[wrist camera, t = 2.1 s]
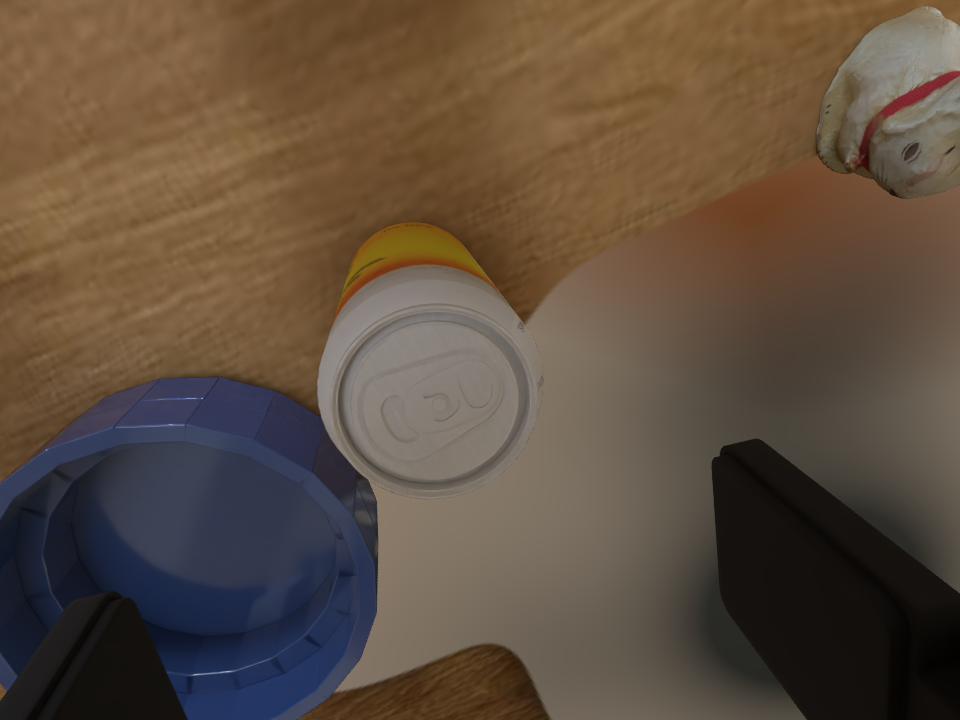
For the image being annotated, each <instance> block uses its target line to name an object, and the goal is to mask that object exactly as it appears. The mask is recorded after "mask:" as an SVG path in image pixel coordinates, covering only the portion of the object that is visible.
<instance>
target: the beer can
mask: <svg viewBox="0 0 960 720" xmlns="http://www.w3.org/2000/svg"><path fill="white" fill-rule="evenodd" d="M542 395H543V369H542V364H541V359H540V355H539V352H538V350H537V346H536V344H535V342H534V340H533V338H532V336H531V334H530V332H529V330H528V329H527V327H526V326H525V324H524V323H523V322H522V320H521V319H520V318H519V316H518V315H517V314H516V313H515V311H514V310H513V309H512V307H511V306H510V305H509V304H508V302H507V301H506V300H505V298H504V297H503V296H502V294H501V293H500V292H499V291H498V289H497V288H496V287H495V285H494V284H493V283H492V282H491V280H490V279H489V278H488V276H487V275H486V274H485V272H484V271H483V270H482V269H481V267H480V266H479V265H478V263H477V262H476V261H475V260H474V258H473V257H472V256H471V254H470V253H469V252H468V250H467V249H466V248H465V247H464V246H463V244H462V243H461V242H460V241H459V240H458V239H457V238H455V237H454V236H453V235H451V234H450V233H449V232H447V231H445V230H443V229H441V228H439V227H437V226H434V225H430V224H427V223H421V222H404V223H399V224H394V225H391V226H388V227H386V228H384V229H382V230H380V231H378V232H377V233H375V234H373V235H372V236H371V237H370V238H368V239H367V240H366V241H365V242H364V243H363V244H362V246H361V247H360V248H359V250H358V251H357V253H356V254H355V256H354V258H353V260H352V262H351V265H350V268H349V271H348V274H347V278H346V281H345V284H344V287H343V291H342V294H341V297H340V300H339V304H338V307H337V310H336V314H335V317H334V320H333V323H332V327H331V330H330V333H329V336H328V340H327V343H326V346H325V350H324V353H323V356H322V359H321V363H320V367H319V372H318V379H317V396H318V405H319V410H320V414H321V417H322V420H323V423H324V426H325V428H326V430H327V432H328V434H329V436H330V438H331V440H332V441H333V443H334V444H335V446H336V447H337V448H338V450H339V451H340V452H341V453H342V454H343V455H344V457H345V458H346V459H347V460H348V461H349V462H350V463H351V464H352V466H353V467H354V468H355V469H356V470H357V471H358V472H359V473H360V474H362V475H363V476H364V477H365V478H367V479H368V480H370V481H371V482H372V483H374V484H376V485H377V486H379V487H381V488H383V489H385V490H388V491H390V492H392V493H395V494H399V495H402V496H406V497H412V498H419V499H440V498H449V497H454V496H458V495H462V494H465V493H468V492H471V491H473V490H476V489H478V488H480V487H482V486H484V485H486V484H487V483H489V482H491V481H492V480H494V479H495V478H496V477H498V476H499V475H501V473H503V472H504V471H505V470H506V469H507V468H508V467H509V466H510V465H511V464H512V463H513V462H514V461H515V460H516V459H517V457H518V456H519V454H520V453H521V452H522V450H523V449H524V447H525V445H526V443H527V442H528V440H529V438H530V435H531V433H532V430H533V427H534V424H535V421H536V418H537V416H538V413H539V409H540V406H541V401H542Z"/></svg>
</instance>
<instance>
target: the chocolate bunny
mask: <svg viewBox="0 0 960 720" xmlns="http://www.w3.org/2000/svg"><path fill="white" fill-rule="evenodd" d="M816 138H817V153H818V157H819V158H820V160H821V161H822V163H823V164H824V165H826V166H827V167H828V168H830V169H831V170H832V171H835V172H838V173H841V174H850V173H856V174H858V175H861V176H863V177H866V178H870V179H874V180H875V181H876V182H877V184H878V185H879V186H880V187H882V188H883V189H885V190H886V191H887V192H889V193H890V194H891V195H893V196H896V197H899V198H905V199H909V198H915V197H922V196H927V195H932V194H937V193H941V192H944V191H947V190H949V189H951V188H954V187H956V186H958V185H960V26H959V25H957V24H956V23H954V22H953V21H951V20H949V19H946V18H944V16H943V15H942V13H941V12H940V11H939V10H937V9H935V8H933V7H928V6H923V7H919V8H916V9H914V10H912V11H911V12H909V13H907V14H905V15H903V16H900V17H897V18H894V19H891V20H888V21H885V22H884V23H882V24H880V25H879V26H877V27H875V28H874V29H872V30H871V31H870V32H869V33H867V34H866V35H865V36H864V37H863V39H862V40H861V42H860V43H859V45H858V46H857V47H856V48H855V49H854V50H853V52H852V53H851V54H850V55H849V57H848V59H847V60H845V61H844V62H843V64H842V65H841V66H840V67H839V68H838V73H837V74H836V76H835V78H834V79H833V81H832V83H831V85H830V87H829V89H828V90H827V92H826V94H825V96H824V99H823V101H822V106H821V113H820V121H819V125H818V128H817V133H816Z"/></svg>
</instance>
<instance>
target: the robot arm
mask: <svg viewBox="0 0 960 720" xmlns="http://www.w3.org/2000/svg"><path fill="white" fill-rule="evenodd" d="M712 480H713V495H714V510H715V525H716V539H717V554H718V569H719V584H720V593H721V597H722V600H723V603H724V606H725V607H726V610H727V611H728V613H729V615H730V616H731V617H732V619H733V620H734V621H735V623H736V624H737V625H738V627H739V628H740V630H741V631H742V632H743V633H744V635H745V636H746V638H747V639H748V640H749V642H750V643H751V644H752V646H753V647H754V648H755V650H756V651H757V652H758V654H759V655H760V657H761V658H762V659H763V661H764V662H765V663H766V665H767V666H768V668H769V669H770V670H771V672H772V673H773V674H774V676H775V677H776V678H777V680H778V681H779V682H780V684H781V685H782V686H783V688H784V689H785V690H786V692H787V693H788V695H789V696H790V697H791V699H792V700H793V701H794V703H795V704H796V705H797V707H798V708H799V710H800V711H801V712H802V714H803V715H804V716H805V718H806V719H807V720H960V593H958V592H957V591H956V590H954V589H953V588H952V587H951V586H949V585H948V584H947V583H945V582H944V581H943V580H942V579H940V578H939V577H938V576H936V575H935V574H934V573H932V572H931V571H930V570H929V569H927V568H926V567H925V566H923V565H922V564H921V563H919V562H918V561H917V560H916V559H914V558H913V557H912V556H910V555H909V554H908V553H906V552H905V551H904V550H903V549H901V548H900V547H899V546H897V545H896V544H895V543H894V542H892V541H891V540H890V539H888V538H887V537H886V536H884V535H883V534H882V533H881V532H880V531H878V530H877V529H875V528H874V527H873V526H872V525H870V524H869V523H868V522H867V521H865V520H864V519H863V518H861V517H860V516H859V515H858V514H856V513H855V512H854V511H852V510H851V509H850V508H848V507H847V506H846V505H845V504H843V503H842V502H841V501H839V500H838V499H837V498H836V497H834V496H833V495H832V494H830V493H829V492H828V491H826V490H825V489H824V488H823V487H821V486H820V485H819V484H818V483H816V482H815V481H814V480H812V479H811V478H810V477H809V476H807V475H806V474H804V473H803V472H802V471H801V470H799V469H798V468H797V467H796V466H794V465H793V464H791V463H790V462H789V461H788V460H786V459H785V458H784V457H783V456H781V455H780V454H779V453H777V452H776V451H775V450H774V449H772V448H771V447H770V446H768V445H767V444H766V443H765V442H763V441H762V440H760V439H752V440H748V441H744V442H739V443H735V444H731V445H727V446H723V447H722V448H721V451H720V456H719V457H715V458H714V459H713V460H712ZM0 720H188V718H187V716H186V714H185V712H184V710H183V707H182V705H181V703H180V701H179V699H178V696H177V694H176V692H175V690H174V687H173V685H172V683H171V681H170V679H169V676H168V674H167V672H166V670H165V667H164V665H163V663H162V661H161V659H160V656H159V654H158V652H157V650H156V648H155V645H154V643H153V641H152V639H151V636H150V634H149V632H148V630H147V628H146V625H145V623H144V621H143V619H142V617H141V614H140V612H139V610H138V608H137V605H136V604H135V602H134V601H133V600H132V599H131V598H128V597H127V598H123V597H122V595H120V594H119V593H118V592H115V591H110V592H106V593H102V594H98V595H93V596H89V597H85V598H81V599H77V600H74V601H72V602H71V603H70V604H69V605H68V606H67V607H66V609H65V610H64V611H63V613H62V614H61V616H60V617H59V619H58V620H57V621H56V623H55V624H54V626H53V627H52V629H51V630H50V631H49V633H48V634H47V636H46V637H45V638H44V640H43V641H42V643H41V644H40V646H39V647H38V648H37V650H36V651H35V653H34V654H33V656H32V657H31V658H30V660H29V661H28V663H27V664H26V665H25V667H24V668H23V670H22V671H21V673H20V674H19V675H18V677H17V678H16V680H15V681H14V683H13V684H12V685H11V687H10V688H9V690H8V691H7V693H6V694H5V695H4V697H3V698H2V700H1V701H0Z"/></svg>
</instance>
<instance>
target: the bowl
mask: <svg viewBox="0 0 960 720" xmlns="http://www.w3.org/2000/svg"><path fill="white" fill-rule="evenodd" d="M377 574H378V524H377V501H376V498H375V495H374V493H373V490H372V488H371V486H370V483H369V481H368V479H367V478H365V477H364V476H363V475H362V474H360V473H359V472H358V471H357V470H356V469H355V468H354V467H353V466H352V464H351V463H350V462H349V461H348V460H347V459H346V458H345V457H344V455H343V454H342V453H341V452H340V451H339V450H338V448H337V447H336V446H335V444H334V443H333V441H332V440H331V438H330V436H329V434H328V432H327V430H326V428H325V426H324V423H323V420H322V418H321V417H320V416H318V415H316V414H315V413H313V412H311V411H309V410H308V409H306V408H304V407H303V406H301V405H299V404H298V403H296V402H294V401H293V400H291V399H289V398H287V397H286V396H284V395H282V394H281V393H279V392H276V391H273V390H269V389H265V388H261V387H257V386H253V385H249V384H245V383H241V382H237V381H233V380H229V379H226V378H220V377H200V378H164V379H157V380H154V381H151V382H148V383H145V384H142V385H139V386H136V387H133V388H130V389H127V390H124V391H121V392H118V393H115V394H112V395H109V396H106V397H105V398H103V399H101V400H100V401H99V402H97V403H96V404H95V405H93V406H92V407H91V408H89V409H88V410H87V411H85V412H84V413H83V414H81V415H80V416H79V417H77V418H76V419H74V420H73V421H72V422H70V423H69V424H68V425H66V426H65V427H64V428H62V429H61V430H60V431H59V432H58V433H57V434H56V435H54V436H53V437H52V438H51V439H50V440H49V441H47V442H46V443H45V444H44V445H43V446H42V447H41V448H39V449H38V450H37V451H36V452H35V453H34V454H33V455H31V456H30V457H29V458H28V459H27V460H26V461H24V462H23V463H22V464H21V465H20V466H19V467H17V468H16V469H15V470H14V471H13V472H12V473H11V474H9V475H8V476H7V477H6V478H5V479H4V480H2V481H1V482H0V683H1V685H2V686H3V687H4V689H5V690H6V692H7V691H8V690H9V688H10V687H11V685H12V684H13V683H14V681H15V680H16V678H17V677H18V675H19V674H20V673H21V671H22V670H23V668H24V667H25V665H26V664H27V663H28V661H29V660H30V658H31V657H32V656H33V654H34V653H35V651H36V650H37V648H38V647H39V646H40V644H41V643H42V641H43V640H44V638H45V637H46V636H47V634H48V633H49V631H50V630H51V629H52V627H53V626H54V624H55V623H56V621H57V620H58V619H59V617H60V616H61V614H62V613H63V611H64V610H65V609H66V607H67V606H68V605H69V604H70V603H71V602H72V601H74V600H77V599H81V598H85V597H89V596H93V595H98V594H102V593H106V592H110V591H115V592H118V593H119V594H120V595H122V597H123V598H127V597H128V598H131V599H132V600H133V601H134V602H135V604H136V605H137V608H138V610H139V612H140V614H141V617H142V619H143V621H144V623H145V625H146V628H147V630H148V632H149V634H150V636H151V639H152V641H153V643H154V645H155V648H156V650H157V652H158V654H159V656H160V659H161V661H162V663H163V665H164V667H165V670H166V672H167V674H168V676H169V679H170V681H171V683H172V685H173V687H174V690H175V692H176V694H177V696H178V699H179V701H180V703H181V705H182V707H183V710H184V712H185V714H186V716H187V718H188V720H298V719H299V718H301V717H302V716H303V715H305V714H306V713H308V712H309V711H311V710H312V709H314V708H315V707H317V706H318V705H320V704H321V703H323V702H324V701H326V700H327V699H328V698H329V697H330V696H331V695H332V694H333V693H334V691H335V690H336V689H337V688H338V686H339V685H340V684H341V683H342V681H343V680H344V679H345V677H346V676H347V675H348V674H349V673H350V671H351V670H352V669H353V668H354V666H355V665H356V664H357V663H358V662H359V660H360V658H361V656H362V654H363V651H364V648H365V645H366V642H367V639H368V636H369V634H370V631H371V628H372V625H373V622H374V619H375V616H376V612H377V578H378V577H377V576H378V575H377Z"/></svg>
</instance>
